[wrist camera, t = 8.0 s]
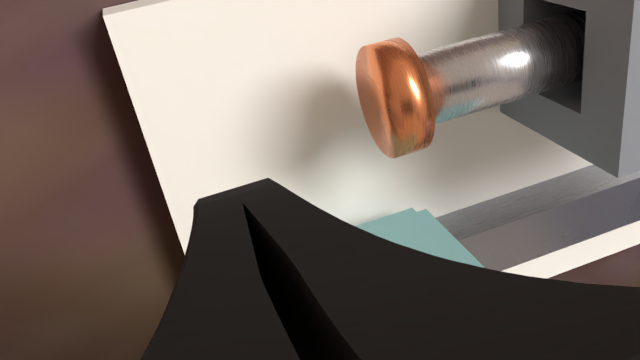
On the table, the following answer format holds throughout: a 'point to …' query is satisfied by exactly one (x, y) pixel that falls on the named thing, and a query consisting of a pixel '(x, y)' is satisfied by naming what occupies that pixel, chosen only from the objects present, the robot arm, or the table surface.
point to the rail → (545, 216)
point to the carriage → (420, 235)
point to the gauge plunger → (462, 77)
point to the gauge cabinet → (589, 84)
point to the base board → (320, 111)
